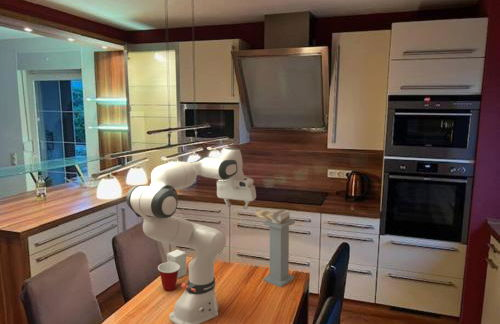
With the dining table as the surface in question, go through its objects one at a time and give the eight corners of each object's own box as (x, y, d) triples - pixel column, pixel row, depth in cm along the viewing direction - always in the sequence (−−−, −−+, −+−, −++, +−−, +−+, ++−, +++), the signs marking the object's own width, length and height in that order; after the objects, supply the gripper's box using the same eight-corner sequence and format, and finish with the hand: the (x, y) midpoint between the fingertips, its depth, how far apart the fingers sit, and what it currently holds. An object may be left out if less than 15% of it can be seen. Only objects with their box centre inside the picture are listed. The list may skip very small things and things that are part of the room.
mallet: (289, 220, 187) (289, 210, 186) (280, 224, 181) (280, 214, 180) (261, 213, 199) (261, 205, 198) (252, 217, 192) (252, 208, 192)
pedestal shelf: (281, 287, 183) (281, 226, 178) (263, 280, 190) (263, 221, 185) (294, 278, 192) (294, 220, 187) (277, 272, 199) (277, 216, 194)
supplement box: (178, 270, 203) (177, 249, 201) (187, 274, 198) (186, 252, 196) (167, 275, 197) (166, 253, 195) (176, 279, 193) (175, 256, 191)
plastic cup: (174, 295, 176) (173, 272, 175) (154, 292, 179) (153, 269, 178) (184, 285, 187) (183, 262, 185) (165, 282, 190) (164, 260, 188)
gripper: (212, 181, 177) (215, 207, 181) (250, 184, 168) (252, 212, 171) (219, 177, 183) (222, 203, 186) (256, 180, 173) (258, 207, 177)
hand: (237, 207), depth 179 cm, fingers open, 8 cm apart
